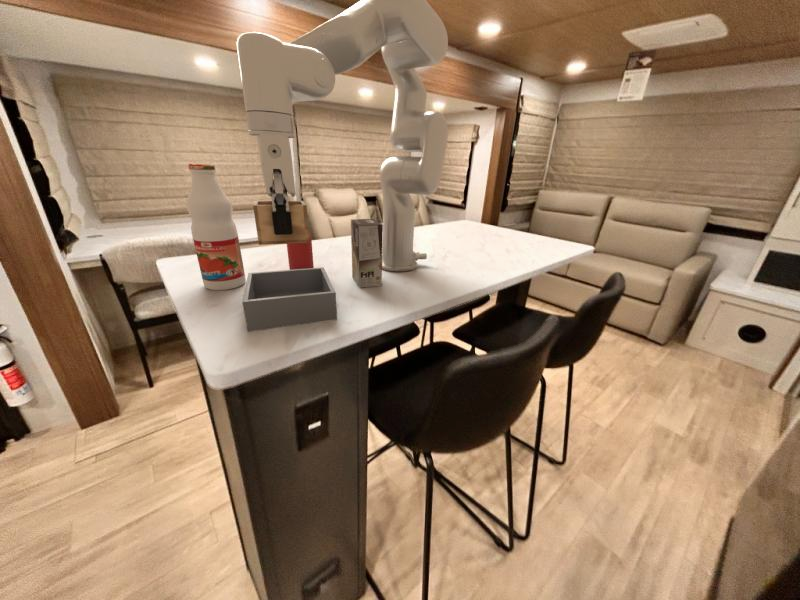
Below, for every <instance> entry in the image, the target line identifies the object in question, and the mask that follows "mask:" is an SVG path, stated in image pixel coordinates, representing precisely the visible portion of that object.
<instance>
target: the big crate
mask: <svg viewBox="0 0 800 600" xmlns="http://www.w3.org/2000/svg"><path fill="white" fill-rule="evenodd" d="M242 307H243V312H244V318H245V322H246V323H245V324H246V329H247V332H253V331H260V330H262V331H263V330H268V329H275V328H276V329H277V328H284V327H291V326H298V325H306V324H307V325H308V324H313V323H314V324H315V323H320V322H321V323H322V322H329V321H335V320H338V315H337V314H338V311H337V293H336V290H335V288H334V286H333V284H332V281H331V280H330V277H329V276H328V273H327V272H326V269H325V268H324V267H314V268H308V269H294V270H290V269H284V270H282V269H281V270H269V271H257V272H254V271H253V272H248V273H247V278H246V281H245V287H244V293H243V298H242Z"/></svg>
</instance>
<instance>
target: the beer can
mask: <svg viewBox="0 0 800 600" xmlns="http://www.w3.org/2000/svg"><path fill="white" fill-rule="evenodd" d="M308 232H309V243H289V244H286V248H287V249H286V250H287V259H288V267H289V269H288V270H294V269H308V268H315V267H314V266H315V265H314V256H313V255H314V253H313V243H312V242H313V240H312V237H311V234H310V231H309V230H308Z"/></svg>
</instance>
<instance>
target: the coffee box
mask: <svg viewBox="0 0 800 600" xmlns="http://www.w3.org/2000/svg"><path fill="white" fill-rule="evenodd" d="M350 237H351V238H350V240H351V241H350V243H351V268H352V270H351V273H352V279H353V280H354V282H355V283H356V284H357V286H358V287H359V288H360V289H361V288H369V287H371V288H372V287H381V286H382V283H383V269H382V243H383V223H380V222H378V221H377V220H375V219H373V218H360V219H359V218H358V219H350Z"/></svg>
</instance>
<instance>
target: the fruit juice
mask: <svg viewBox="0 0 800 600" xmlns="http://www.w3.org/2000/svg"><path fill="white" fill-rule="evenodd" d="M188 169H189V172H190V173H191V185H190V192H189V195H188V196H187V198H186V201H185V205H186V206H185V207H186V211H187V212H188V214H189V216H190V219H191V224H190V225H191V227H190V230H191V236H192V240H193V245H194V247H195V252H196V253H195V254H196V257H197V261H198V266H199V269H200V274H201V279H202V283H203V285H204V288H206V289H207V290H211V291H226V290H232V289H235V288H240V287H241V286H243V285H244V284H246V274H245V268H244V261H243V257H242V251H241V246H240V240H239V232H238V229H237V225H236V223H235V222H234V219H233V210H234V207H233V205H232V202H231V200H230V198H229V196H228V195H226V194H225V192H224V191H223V189H222V187H221V185H220V183H219V181H218V180H217V177H216V167H215V165H214V164H211V163H210V164H208V163H207V164H206V163H205V164H204V163H188Z"/></svg>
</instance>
